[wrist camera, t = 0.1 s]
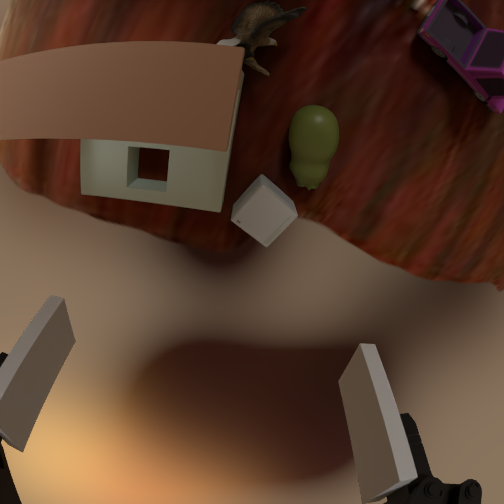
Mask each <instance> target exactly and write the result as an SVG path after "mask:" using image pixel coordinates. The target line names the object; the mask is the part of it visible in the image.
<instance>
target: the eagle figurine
mask: <svg viewBox="0 0 504 504" xmlns="http://www.w3.org/2000/svg"><path fill="white" fill-rule="evenodd" d="M306 9H307V8H305V7H301V8H296V9H293V10H290V11H288V12H283V9H282V8H280V5H279V4H276V3H275V2H269V1H266V2H264V3H262V2H259V3H253V4H251V5H248V6H247V7H245V8H244V10H243V11H242V12H241V14H240V15H239V16H238V17H237V19H236V20H235V22H234V23H233V27H232V32H234V34H236V35H235V37H234V38H232V39H225V40H220V41H219V42H218V43H217V44H218V45H227V46H236V45H238V44H241V46H242V47H243V48H244V49H245V53H244V59H243V63H245V64H246V65H248V66H250V67H251V68H253V69H255V70H257V71H259V72H261V73H263V74H264V75H266V76H269V73H268V71H267V70H265V69H263V68H262V67H261V66H259V65H258V64H257V62H256V60H255V59H254V56H255V54H254V51H255V49H256V47H257V46H268V45H275V46H277V43H276V41H275V40H274V39H272V38H269V35H270V34H271V33H272V32H273V31H274V30H275V29H276V28H278V27H280V26H282V25H284V24H285V23H286V22H288V21H289V20H292V19H295V18H296V17H298V16H300V15H301V14H302V13H303V12H304V11H305V10H306Z"/></svg>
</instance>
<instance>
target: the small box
mask: <svg viewBox="0 0 504 504" xmlns="http://www.w3.org/2000/svg"><path fill="white" fill-rule="evenodd" d="M297 217H298V214H297V211H296V208H295V205H294V202H293V201H292V200H291V199H290V198H289V197H288V196H287V195H286V194H285V193H284V192H282V191H281V190H280V189H279V188H278V187H277V186H276V185H275V184H273V183H272V182H271V181H270V180H269V179H268V178H266V177H265V176H264V175H263V174H261V175H260V176H259V177H258V178H257V179H256V180H255V181H254V182H253V183H252V184H251V185H250V186H249V187H248V188H247V190H246V191H245V192H244V193H243V194H242V195H241V196H240V197H239V199H238V200H237V201H236V202H235V203H234V204H233V209H232V215H231V221H232V222H233V223H235V224H236V225H237V226H239V227H240V228H241V229H243V230H244V231H245V232H247V233H248V234H249V235H251V236H252V237H253V238H255V239H256V240H258V241H259V242H260V243H261V244H263V245H264V246H265V247H268V246H269V245H270V244H271V243H272V242H273V241H274V240H275V239H276V238H277V237H278V236H279V235H280V234H281V233H282V232H283V231H284V230H285V229H286V228H287V227H288V226H289V225H290V224H291V222H293V221H294V220H295V219H296V218H297Z"/></svg>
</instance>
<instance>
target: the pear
mask: <svg viewBox="0 0 504 504" xmlns="http://www.w3.org/2000/svg"><path fill="white" fill-rule="evenodd" d="M338 141H339V127H338V122H337V120H336V117H335V116H334V114H333V113H332V112H331V111H330V110H328V109H326V108H324V107H322V106H318V105H308V106H304V107H302V108H300V109H299V110H297V111H296V113H295V114H294V115H293V117H292V120H291V123H290V128H289V146H290V149H291V152H292V157H291V161H290V163H289V168H290V170H291V171H292V173H293V175H294V177H295V179H296V183H297V186H300V187H304V186H305V187H306V188H307V189H308V190H310V189H311V188H313V189H316V188H317V187H319V183H320V182H322V181H323V179H324V178H325V176H326V174H327V172H328V168H329V162H330V160H331V158H332V157H333V155H334V154H335V152H336V149H337V146H338Z"/></svg>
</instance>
